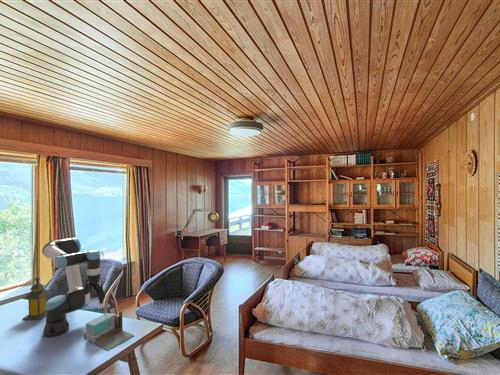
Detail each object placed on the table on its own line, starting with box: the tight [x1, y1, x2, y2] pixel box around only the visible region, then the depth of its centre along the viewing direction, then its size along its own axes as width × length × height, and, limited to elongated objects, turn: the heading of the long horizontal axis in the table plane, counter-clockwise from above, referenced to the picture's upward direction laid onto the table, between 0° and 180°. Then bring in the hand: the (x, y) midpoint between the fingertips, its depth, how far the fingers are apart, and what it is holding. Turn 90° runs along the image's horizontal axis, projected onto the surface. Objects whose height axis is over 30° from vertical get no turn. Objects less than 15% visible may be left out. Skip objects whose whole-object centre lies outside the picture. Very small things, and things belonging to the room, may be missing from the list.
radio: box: [85, 302, 115, 343], centre depth 188 cm, size 16×9×20 cm, turn 156°
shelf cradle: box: [83, 305, 124, 344], centre depth 191 cm, size 15×18×14 cm
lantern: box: [22, 276, 52, 321], centre depth 216 cm, size 14×14×30 cm
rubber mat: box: [95, 330, 135, 352], centre depth 183 cm, size 12×19×1 cm, turn 151°
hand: (93, 305), depth 184 cm, fingers open, 13 cm apart
